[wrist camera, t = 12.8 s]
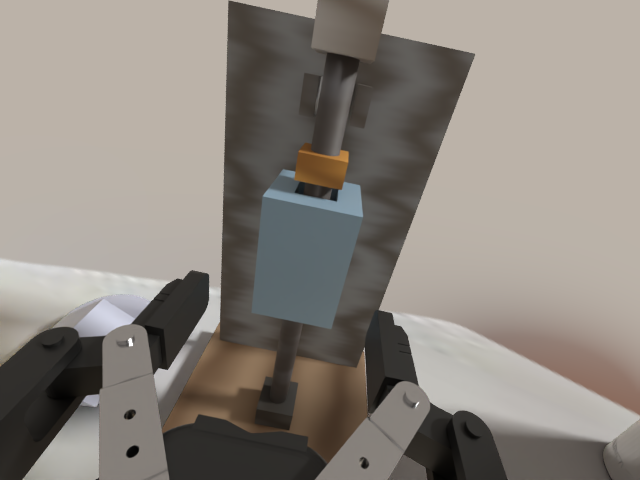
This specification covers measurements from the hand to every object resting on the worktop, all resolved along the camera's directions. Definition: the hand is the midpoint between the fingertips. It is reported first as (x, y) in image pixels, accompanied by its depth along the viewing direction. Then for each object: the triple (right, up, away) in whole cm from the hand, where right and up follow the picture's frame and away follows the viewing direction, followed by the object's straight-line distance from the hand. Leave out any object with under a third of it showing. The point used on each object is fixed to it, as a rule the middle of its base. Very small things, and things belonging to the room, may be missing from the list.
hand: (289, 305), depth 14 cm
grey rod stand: (-3, -15, +15) cm, 21 cm away
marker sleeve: (0, -1, +7) cm, 7 cm away
